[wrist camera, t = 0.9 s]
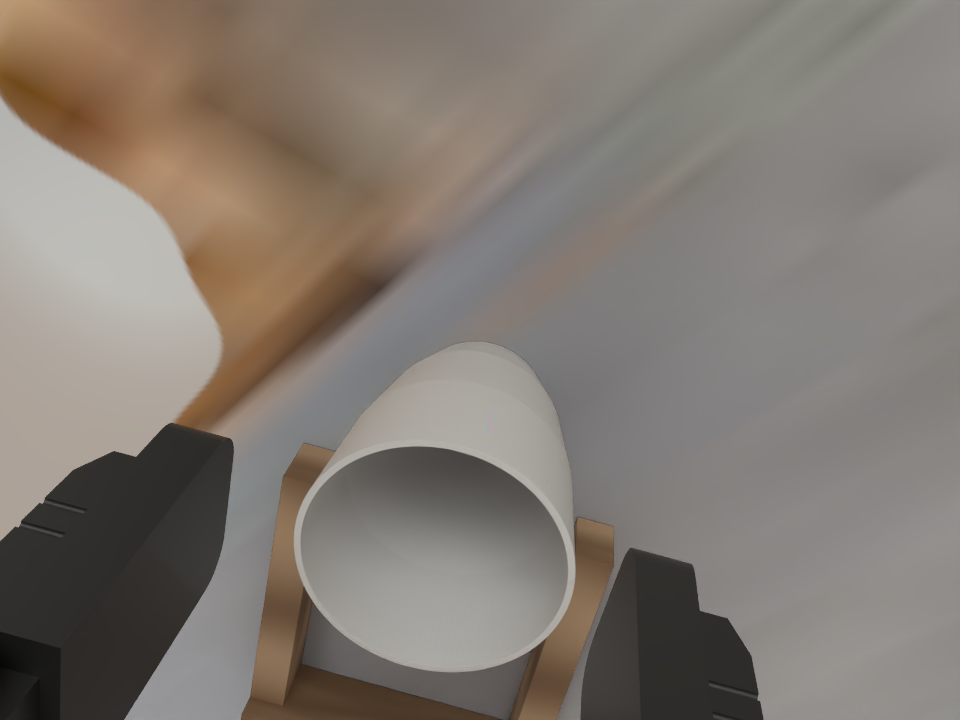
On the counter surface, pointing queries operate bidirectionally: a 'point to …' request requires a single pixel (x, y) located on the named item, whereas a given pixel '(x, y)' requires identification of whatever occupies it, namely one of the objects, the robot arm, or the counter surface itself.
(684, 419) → the counter surface
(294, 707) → the wooden frame
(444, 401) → the cup
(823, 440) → the counter surface
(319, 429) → the counter surface
